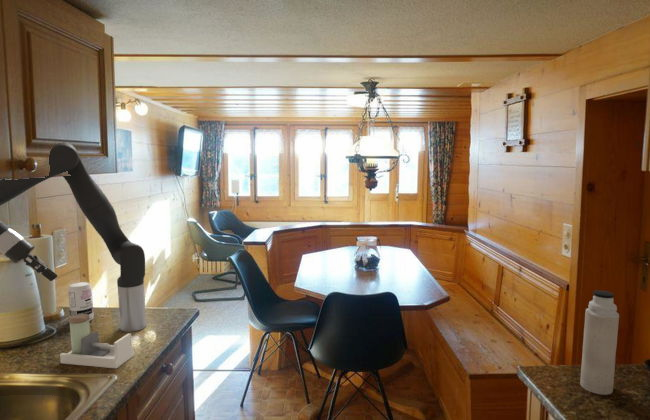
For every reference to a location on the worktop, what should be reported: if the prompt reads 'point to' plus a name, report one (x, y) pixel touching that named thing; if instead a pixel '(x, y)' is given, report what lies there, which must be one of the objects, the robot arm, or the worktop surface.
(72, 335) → the jar
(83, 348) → the pusher
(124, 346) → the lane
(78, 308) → the supplement can
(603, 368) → the thermos bottle
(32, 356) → the worktop surface
